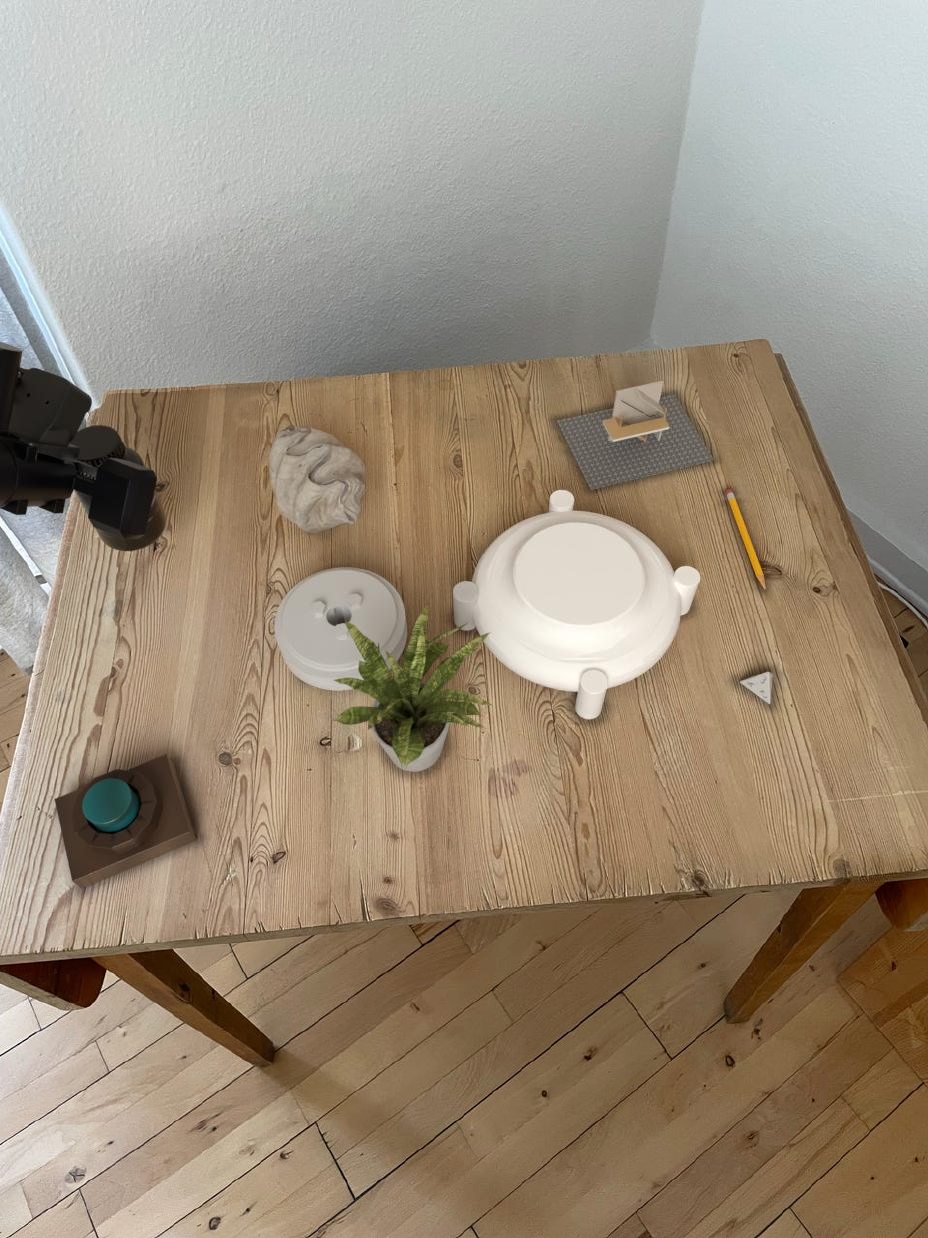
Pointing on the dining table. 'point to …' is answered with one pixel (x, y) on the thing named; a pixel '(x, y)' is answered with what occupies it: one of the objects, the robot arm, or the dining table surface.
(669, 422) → the napkin holder
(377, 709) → the house plant
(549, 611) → the round stand with pegs
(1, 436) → the robot arm
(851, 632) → the dining table surface
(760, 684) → the tetrahedral die
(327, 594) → the lid
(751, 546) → the pencil
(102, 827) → the press top
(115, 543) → the supplement bottle
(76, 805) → the button housing
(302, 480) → the seashell
